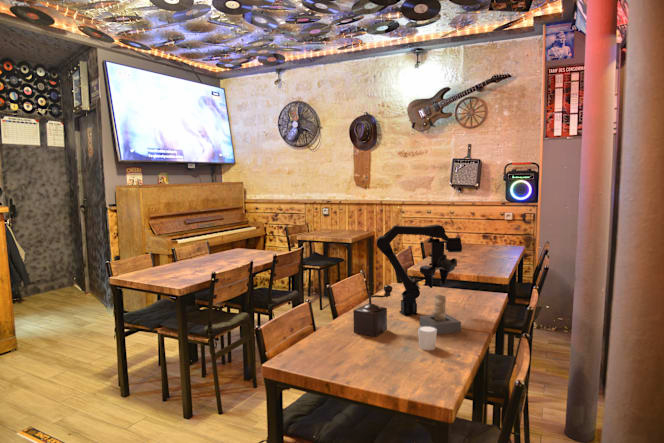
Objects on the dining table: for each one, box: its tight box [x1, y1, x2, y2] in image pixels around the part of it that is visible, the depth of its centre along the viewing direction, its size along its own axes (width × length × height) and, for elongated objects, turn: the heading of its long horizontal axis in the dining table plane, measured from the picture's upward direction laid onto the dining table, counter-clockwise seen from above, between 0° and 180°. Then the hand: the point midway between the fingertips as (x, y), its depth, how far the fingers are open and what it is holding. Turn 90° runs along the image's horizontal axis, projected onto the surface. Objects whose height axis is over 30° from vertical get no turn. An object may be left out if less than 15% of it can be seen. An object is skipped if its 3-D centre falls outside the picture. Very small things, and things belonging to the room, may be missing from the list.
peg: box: [433, 294, 446, 322], centre depth 174 cm, size 4×4×14 cm
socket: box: [419, 313, 462, 336], centre depth 174 cm, size 12×12×4 cm
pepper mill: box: [353, 284, 394, 338], centre depth 174 cm, size 16×11×18 cm
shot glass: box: [417, 326, 437, 351], centre depth 154 cm, size 7×7×7 cm
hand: (437, 286), depth 192 cm, fingers open, 9 cm apart
